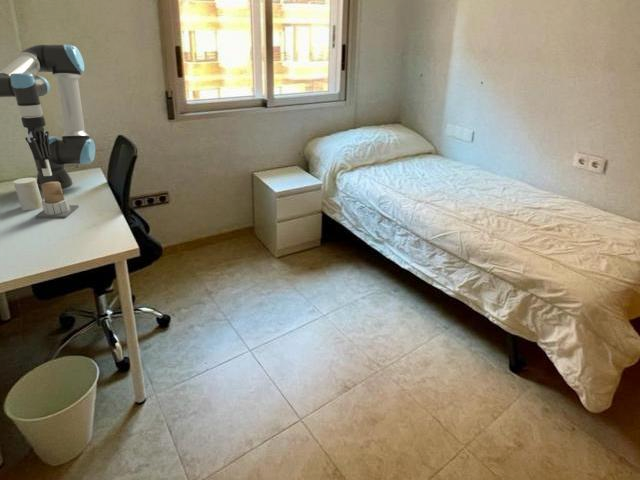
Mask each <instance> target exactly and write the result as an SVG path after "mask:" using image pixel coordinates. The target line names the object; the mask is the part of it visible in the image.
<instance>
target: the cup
mask: <svg viewBox="0 0 640 480" xmlns="http://www.w3.org/2000/svg"><path fill="white" fill-rule="evenodd" d="M13 185H14V188H15V192H16V195H17V198H18V202H19V205H20V208H21V210H22V211H35V210H38V209H41V208H43V206H42V201H43V199H42V196H41V192H40V189H39V188H38V184H37V177H23V178H22V177H21V178H17V179H15V180H13Z"/></svg>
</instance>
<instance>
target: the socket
mask: <svg viewBox="0 0 640 480" xmlns="http://www.w3.org/2000/svg"><path fill="white" fill-rule="evenodd" d="M42 206H43V207H42V210H41V211H40V212H38V213H37V214H36V215H35V219H67V218H68V217H69V216H70V215H72V214H73V213H74V212H75V211H76V210H77V209H79V208H80V206H79V204H70V202H69V199H68V197H67V196H64V200H63V201H61V202H57V203H46V202H45V199H42Z"/></svg>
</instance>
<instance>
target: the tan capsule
mask: <svg viewBox="0 0 640 480" xmlns="http://www.w3.org/2000/svg"><path fill="white" fill-rule="evenodd" d="M41 188H42V190H41V192H42V195H43V198H44V199H45V202H46V203H57V202H61V201H63V200H64V197H65V196H64V193H63V188H61V184H60V182H47V183H44V184H42V185H41ZM44 199H43V200H44Z"/></svg>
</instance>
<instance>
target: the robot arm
mask: <svg viewBox="0 0 640 480" xmlns="http://www.w3.org/2000/svg"><path fill="white" fill-rule="evenodd" d="M83 72H85V62H84V59H83V56H82V54H81V52H80V50H79V48H78V47H76V46H74V45H71V44H37V45H33V46H30V47H28V48H25V49H23V50H22V51H20V52H19V53H17V54H16V56H15V59H14V60H13V61H12V62H11V63H9V64H8V65H6V67H4V68H3V69H2V70H1V71H0V98H10V97H11V98H15V101H16V104H17V109H18V111H19V115H20V116H21V118H20V119H21V123H22V126H23V128H26V129H27V134H28V136H27V137H24V138H25V139H24V140H25V141H26V143H28V146H29V148H30V151H31V153H32V157H33V161H34V163H35V167H36V170H37V177H36V181H37V184H38V188H39V191H40V190H41V191H42V188H41V185H42V184H44V183H47V182H60V184H61V188H62V189H64V188H68V187H70V186H72V185H73V180H72V178H71V175H70V174H69V173H68V171H67V170H66V167H65V165H86V164H88V165H89V164H91V163H92V162H93V161H95V160H94V159H95V156H96V144H95V141H94V140H93V139H92V138H90V134H88V133H87V132H86V128H85V122H84V121H85V119H84V115H83V107H82V101H81V100H82V98H81V92H80V85H79V79H81V78H82V75H81V73H83ZM38 73H52V76H53V77H54V78H55V79H56V81H57V88H58V93H59V100H60V106H61V107H60V109H61V115H62V123H63V127H64V133H63V134H62V135H61V139H59V138H58V137H57V136H53V135H52V136H49V135H50V134H49V133H50V132H49V131H47V130H45V128H44V127H45V126H46V125H47V124H46V120H45V116H44V112H43V108H42V105H41V101H40V97H44V96H45V95H47V94H48V93H49V92H50V90H51V86H50V82H49V81H48V80H47V79H46V78H45V77H43V76H41V75H36V74H38Z"/></svg>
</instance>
